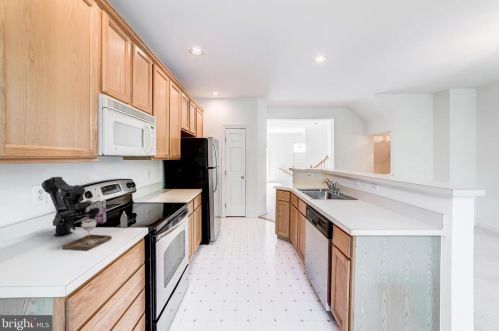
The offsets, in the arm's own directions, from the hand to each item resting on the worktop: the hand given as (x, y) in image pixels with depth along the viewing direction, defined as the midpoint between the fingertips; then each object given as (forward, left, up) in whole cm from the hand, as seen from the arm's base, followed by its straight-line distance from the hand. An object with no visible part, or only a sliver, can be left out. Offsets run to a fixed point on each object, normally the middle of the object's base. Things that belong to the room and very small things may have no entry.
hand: (84, 227), depth 119 cm
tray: (+1, +4, -8) cm, 9 cm away
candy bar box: (-34, -24, -9) cm, 42 cm away
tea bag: (-30, +1, -9) cm, 31 cm away
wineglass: (+1, +3, -8) cm, 9 cm away
